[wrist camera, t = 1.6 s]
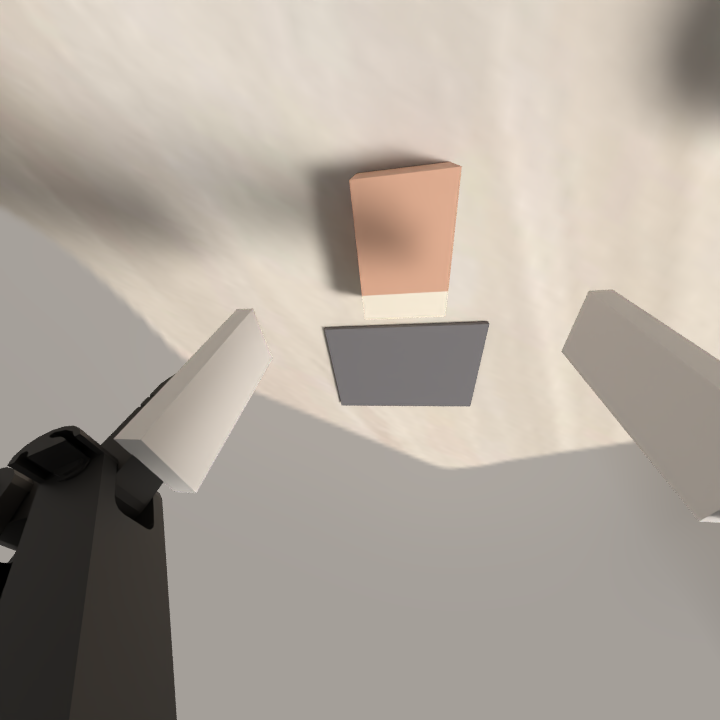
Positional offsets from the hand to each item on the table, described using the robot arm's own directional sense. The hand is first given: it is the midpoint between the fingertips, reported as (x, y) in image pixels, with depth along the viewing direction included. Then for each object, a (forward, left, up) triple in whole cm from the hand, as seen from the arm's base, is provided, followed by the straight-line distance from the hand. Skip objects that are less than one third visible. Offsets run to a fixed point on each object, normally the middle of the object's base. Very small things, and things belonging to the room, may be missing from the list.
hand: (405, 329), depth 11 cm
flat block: (0, 0, -12) cm, 12 cm away
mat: (+13, 0, -12) cm, 17 cm away
